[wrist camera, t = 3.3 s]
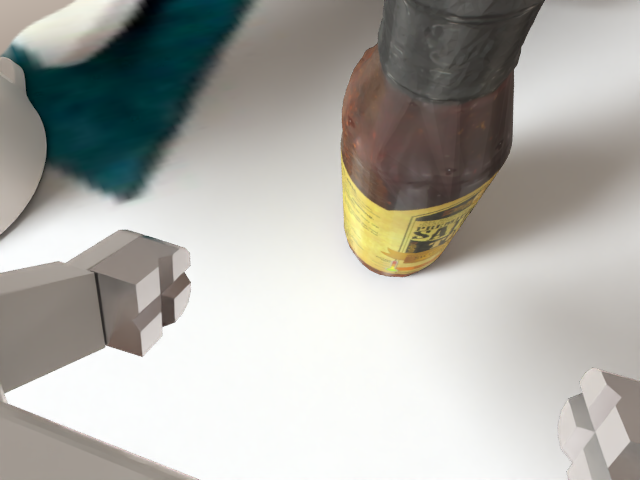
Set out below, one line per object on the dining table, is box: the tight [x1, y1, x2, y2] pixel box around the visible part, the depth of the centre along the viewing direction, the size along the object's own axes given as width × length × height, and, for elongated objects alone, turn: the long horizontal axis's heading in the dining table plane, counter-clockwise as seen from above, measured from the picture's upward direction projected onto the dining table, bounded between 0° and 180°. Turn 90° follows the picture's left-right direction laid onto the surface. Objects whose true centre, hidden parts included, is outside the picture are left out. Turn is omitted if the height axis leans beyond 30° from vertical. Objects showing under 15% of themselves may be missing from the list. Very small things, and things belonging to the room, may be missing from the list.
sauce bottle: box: [341, 0, 545, 277], centre depth 17 cm, size 6×6×20 cm
